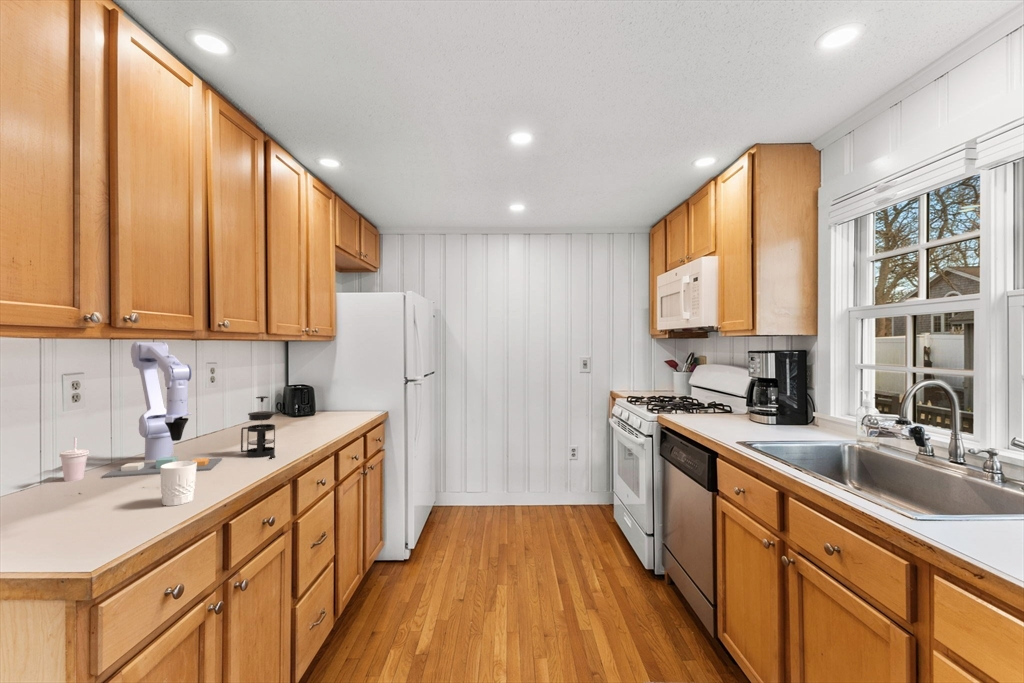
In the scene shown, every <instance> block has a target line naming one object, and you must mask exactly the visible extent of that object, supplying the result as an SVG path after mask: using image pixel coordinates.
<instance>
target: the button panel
mask: <svg viewBox="0 0 1024 683" xmlns="http://www.w3.org/2000/svg"><path fill="white" fill-rule="evenodd" d="M192 460H193V459H185V460H183V459H182V461H192ZM222 461H223V457H217V458H214V457H213V458H209V463H208V464H207V465H205V466H197V469H196V472H204V471H205V472H206V471H209V472H210V471H212V470H213V469H214V468H215V467H216V466H217V465H218V464H220V462H222ZM125 464H126V463H124V464H122V465H120V466H118V467H116V468H114V469H113V470H110V471H109V472H107V473H105V474H103V475H101V479H110V478H122V477H123V478H125V477H138V476H151V475H153V476H154V475H161V472H160V469H156V461H155V462H154V461H153V462H144V467H143V468H141V469H140V470H132V471H121V467H122V466H123V465H125Z"/></svg>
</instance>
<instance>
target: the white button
mask: <svg viewBox="0 0 1024 683" xmlns="http://www.w3.org/2000/svg"><path fill="white" fill-rule="evenodd" d="M144 463H145V462H144V461H143V462H128V463H124V464H125V465H123V464H122V465H123V466H122V465H121V466H122V467H121V471H132V470H140V469H141V468H143V467H144Z"/></svg>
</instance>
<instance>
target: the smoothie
mask: <svg viewBox="0 0 1024 683" xmlns="http://www.w3.org/2000/svg"><path fill="white" fill-rule="evenodd" d="M77 441H78V440H77V436H74V437H73V449H70V450H64V451H61V452H59V458H60V459H61V466H62V467H61V468H62V473H63V480H64V482H74V481H75V482H77V481H80V480H84V478H85V477H84V476H85V471H86V466H87V461H88V455H89V454H90V450H89V449H87V448H82V449H81V448H80V449H77V444H78V443H77Z"/></svg>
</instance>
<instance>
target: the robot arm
mask: <svg viewBox="0 0 1024 683" xmlns="http://www.w3.org/2000/svg"><path fill="white" fill-rule="evenodd" d="M169 349H170V348H169V346H168V344H167V342H166V341H162V342H157V341H156V342H151V341H150V342H149V341H147V342H146V341H144V342H143V341H134V342H133V343H132V344H131V347H130V358H131V363H132V365H133V367H134V368H136V369H138V370H139V374H140V378H141V379H140V380H141V385H142V391H143V395H144V400H145V406H146V410H147V411H145V412H144V413H143V414H141V415H140V417H139V418H138V432H139V434H140V436H141V437H142V438H144V460H145V461H156V460H158V459H159V458H161V457H172V456H174V442H177V441H179V442H180V441H181V440H182V437H183V432H184V430H185V427H186V425H187V423H188V421H189V418H188V417H187V416H191V415H192V412H188V403H189V402H188V398H189V397H188V396H189V395H188V394H189V382H190V380H192V374H193V373H192V372H193V370H192V368H191V366H190V364H187V363H186V364H183V363H182V362H181V361H179V359H178V358H177V357H176V356H175V355H174V354H169V351H170V350H169ZM158 369H160V370H161V371H162V373H163V379H164V385H165V387H166V408H165V405H164V400H163V394H162V390H161V385H160V379H159V374H158Z"/></svg>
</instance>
